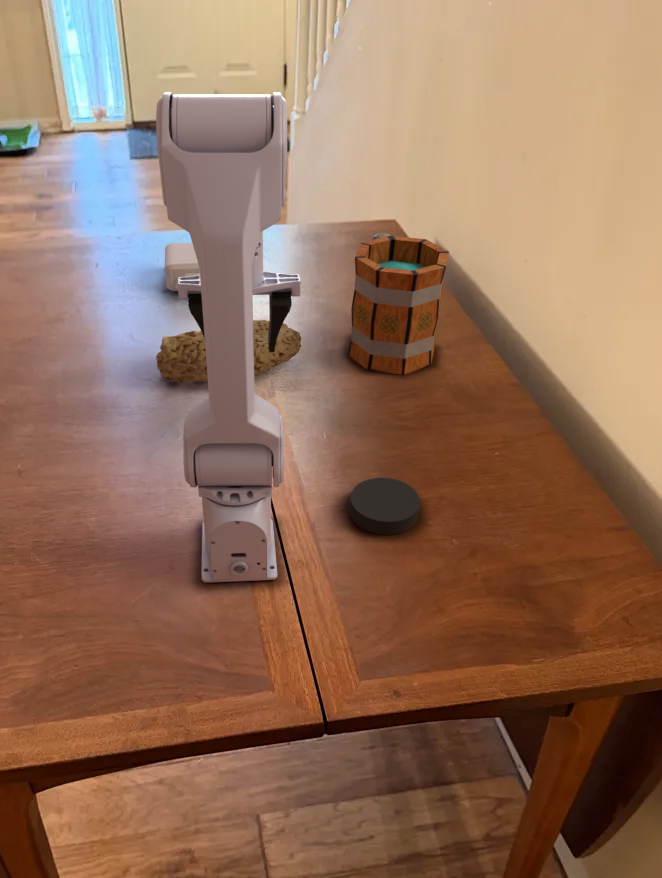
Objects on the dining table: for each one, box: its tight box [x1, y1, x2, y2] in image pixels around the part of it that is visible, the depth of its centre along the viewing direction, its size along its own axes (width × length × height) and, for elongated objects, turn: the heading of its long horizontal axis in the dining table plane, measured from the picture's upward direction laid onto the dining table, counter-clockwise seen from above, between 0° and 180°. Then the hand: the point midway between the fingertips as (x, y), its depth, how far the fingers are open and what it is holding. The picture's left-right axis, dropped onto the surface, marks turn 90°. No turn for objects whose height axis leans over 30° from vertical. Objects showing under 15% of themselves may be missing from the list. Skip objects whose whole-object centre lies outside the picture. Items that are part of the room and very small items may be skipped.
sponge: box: [155, 319, 303, 383], centre depth 111 cm, size 13×8×20 cm
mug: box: [347, 232, 450, 376], centre depth 115 cm, size 20×14×15 cm
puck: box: [348, 477, 421, 536], centre depth 90 cm, size 8×8×2 cm
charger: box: [164, 242, 200, 292], centre depth 132 cm, size 5×9×15 cm
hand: (241, 349), depth 98 cm, fingers open, 7 cm apart
